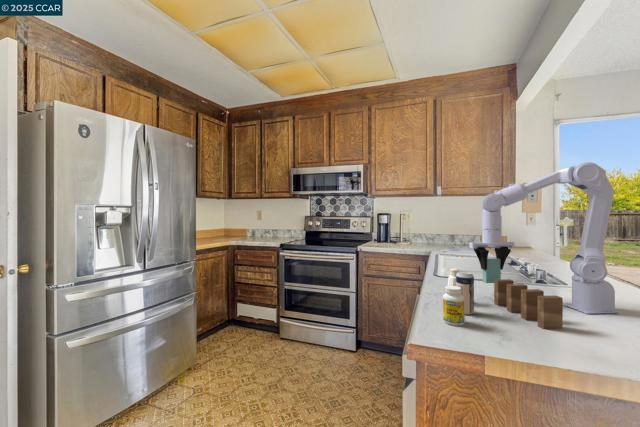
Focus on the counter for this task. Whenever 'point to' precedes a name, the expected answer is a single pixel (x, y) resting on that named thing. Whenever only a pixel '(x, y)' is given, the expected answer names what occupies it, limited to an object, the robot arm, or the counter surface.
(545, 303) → the walnut domino
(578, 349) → the counter surface
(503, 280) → the walnut domino
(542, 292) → the walnut domino
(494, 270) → the teal domino
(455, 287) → the supplement bottle
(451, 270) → the pepper shaker
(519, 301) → the walnut domino
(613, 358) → the counter surface
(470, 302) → the beer can
